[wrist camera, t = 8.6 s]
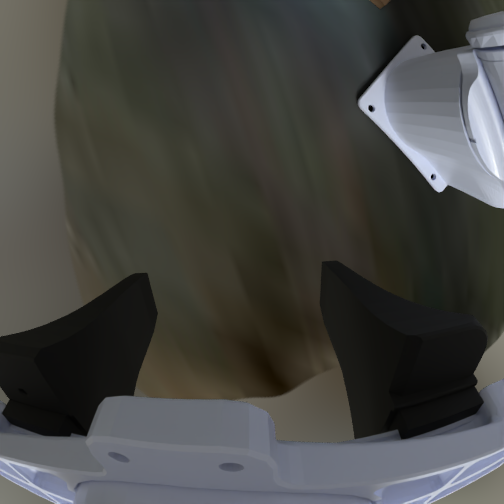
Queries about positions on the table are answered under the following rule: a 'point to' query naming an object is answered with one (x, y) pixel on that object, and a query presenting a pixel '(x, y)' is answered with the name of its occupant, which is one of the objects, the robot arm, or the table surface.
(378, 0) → the brown peg board
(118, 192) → the table surface
